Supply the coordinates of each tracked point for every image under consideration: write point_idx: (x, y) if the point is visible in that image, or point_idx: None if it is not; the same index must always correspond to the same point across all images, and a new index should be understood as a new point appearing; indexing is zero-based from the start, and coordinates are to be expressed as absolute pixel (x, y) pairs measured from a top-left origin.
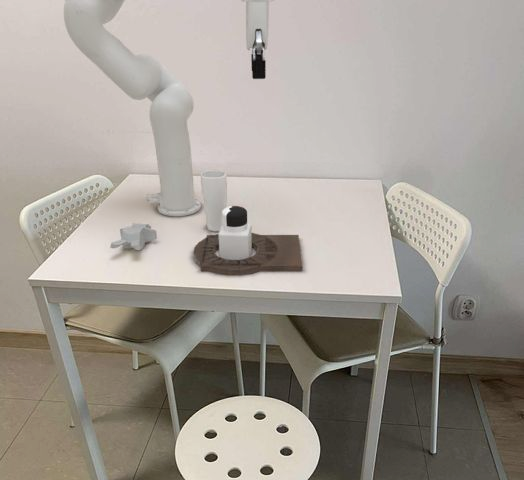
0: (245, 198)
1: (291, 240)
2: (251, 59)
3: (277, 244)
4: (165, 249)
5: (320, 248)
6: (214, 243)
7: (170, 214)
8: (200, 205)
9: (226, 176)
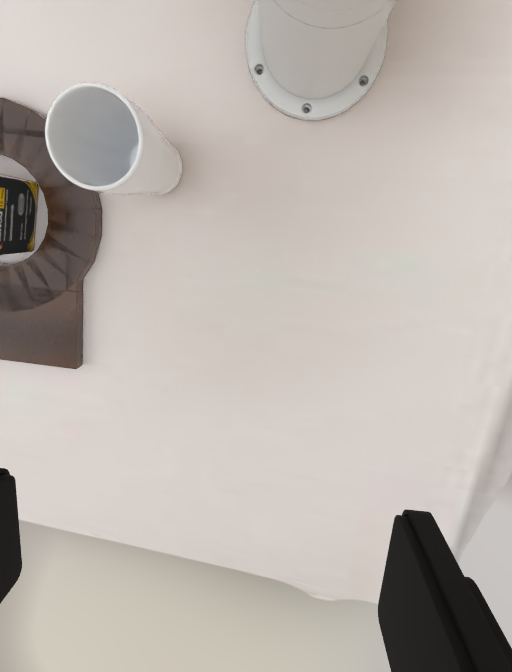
0: (363, 267)
1: (45, 348)
2: (455, 610)
3: (23, 313)
4: (29, 13)
5: (41, 402)
6: (25, 155)
7: (250, 13)
8: (307, 118)
9: (97, 191)
